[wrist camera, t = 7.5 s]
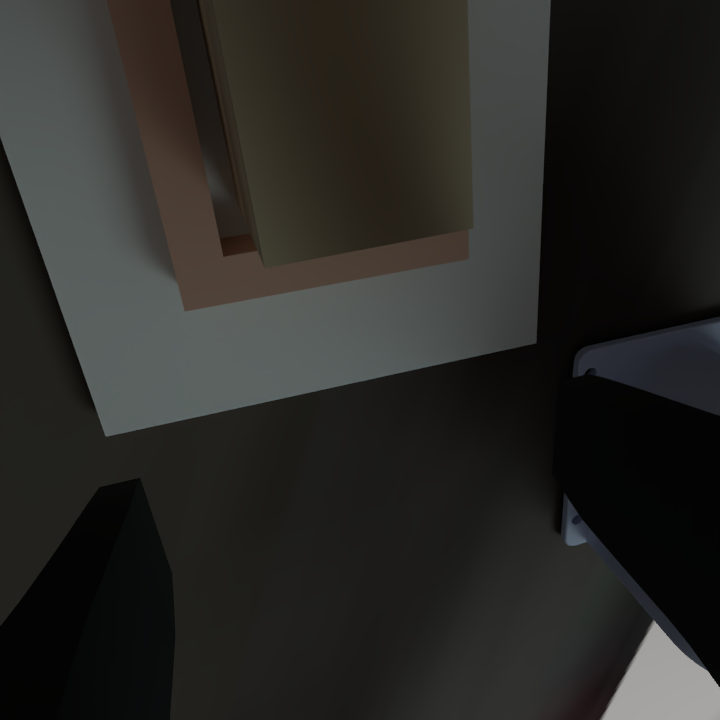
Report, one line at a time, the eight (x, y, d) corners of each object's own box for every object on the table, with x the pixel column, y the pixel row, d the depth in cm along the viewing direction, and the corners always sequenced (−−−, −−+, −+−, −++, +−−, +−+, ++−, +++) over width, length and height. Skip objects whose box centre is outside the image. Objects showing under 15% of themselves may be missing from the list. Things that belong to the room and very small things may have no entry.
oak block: (357, -89, 14) (463, -182, 9) (382, 177, 17) (473, 228, 11) (180, -74, 13) (180, -165, 8) (237, 202, 16) (264, 268, 11)
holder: (521, 331, 21) (565, 366, 19) (109, 419, 19) (98, 472, 16) (543, -424, 13) (627, -538, 11) (-192, -456, 10) (-305, -616, 8)
